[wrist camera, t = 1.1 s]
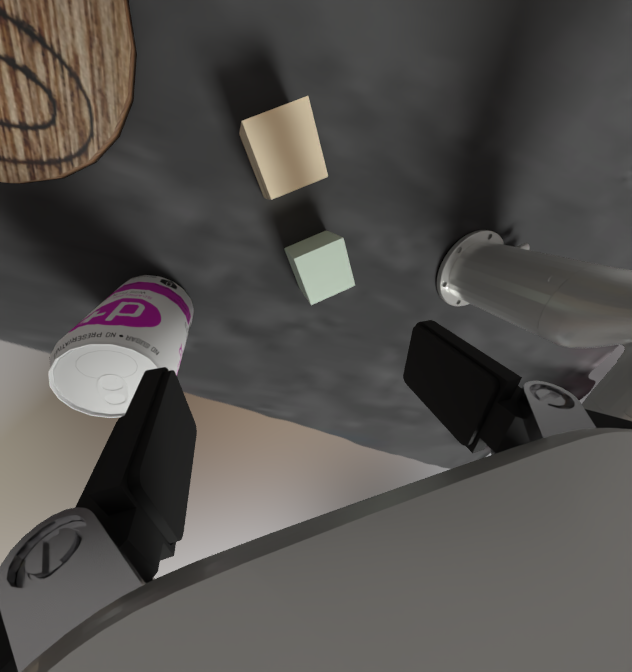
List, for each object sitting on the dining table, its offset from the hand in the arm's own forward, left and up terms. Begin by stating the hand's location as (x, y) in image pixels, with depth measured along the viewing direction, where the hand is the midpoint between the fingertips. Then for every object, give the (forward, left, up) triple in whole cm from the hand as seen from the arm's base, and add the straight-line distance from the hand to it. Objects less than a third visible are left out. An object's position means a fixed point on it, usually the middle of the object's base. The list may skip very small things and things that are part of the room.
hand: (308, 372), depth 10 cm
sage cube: (-6, +4, -26) cm, 27 cm away
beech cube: (-6, -8, -26) cm, 28 cm away
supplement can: (+14, +2, -26) cm, 29 cm away
